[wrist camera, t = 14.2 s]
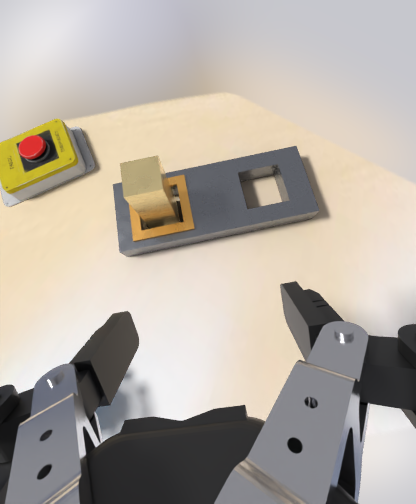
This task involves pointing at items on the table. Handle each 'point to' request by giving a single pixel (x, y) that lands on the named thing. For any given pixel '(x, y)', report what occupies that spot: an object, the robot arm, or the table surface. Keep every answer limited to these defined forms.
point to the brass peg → (149, 191)
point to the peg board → (220, 202)
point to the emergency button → (42, 160)
